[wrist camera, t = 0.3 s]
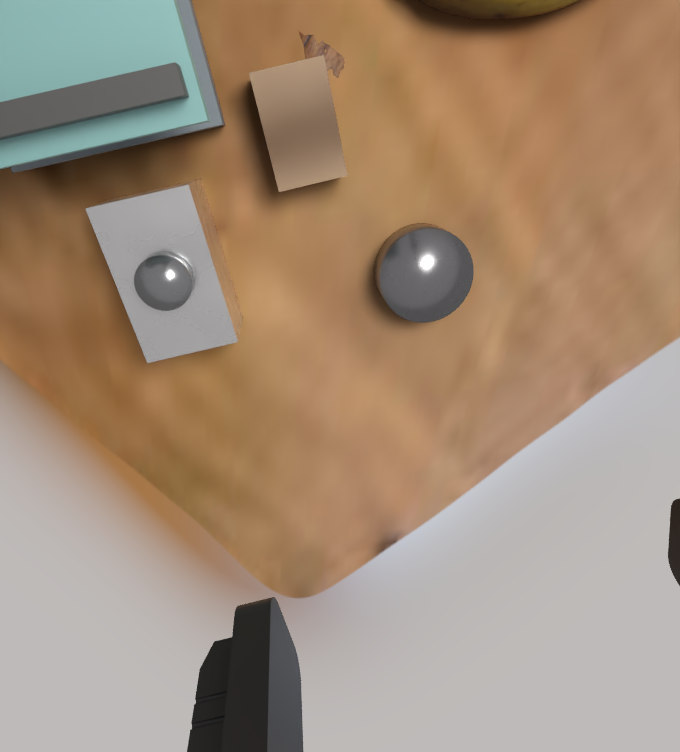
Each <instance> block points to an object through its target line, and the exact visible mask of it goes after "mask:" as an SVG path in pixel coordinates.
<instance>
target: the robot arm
mask: <svg viewBox="0 0 680 752" xmlns="http://www.w3.org/2000/svg"><path fill="white" fill-rule="evenodd" d="M668 558H669V564H670V568H671V570H672V573H673V575H674V577H675V579H676V581H677V582H678V584H679V585H680V499H676V500H674V501H673V503H672V505H671V517H670V533H669V549H668ZM195 699H196V704H195V705H194V711H193V718H192V730H190V737H189V744H188V750H187V752H303V731H302V701H301V677H300V669H299V663H298V657H297V653H296V649H295V646H294V644H293V641H292V638H291V636H290V633H289V630H288V628H287V625H286V623H285V620H284V618H283V615H282V612H281V610H280V607H279V605H278V602H277V600H276V599H275V598H274V597H272V598H268V599H264V600H260V601H256V602H252V603H248V604H244V605H240V606H238V607H237V608H236V611H235V617H234V626H233V637H232V638H228V639H223V640H219V641H215V642H214V643H213V646H212V647H211V649H210V651H209V653H208V655H207V657H206V659H205V661H204V663H203V665H202V666H201V668H200V672H199V678H198V685H197V691H196V698H195Z"/></svg>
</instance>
